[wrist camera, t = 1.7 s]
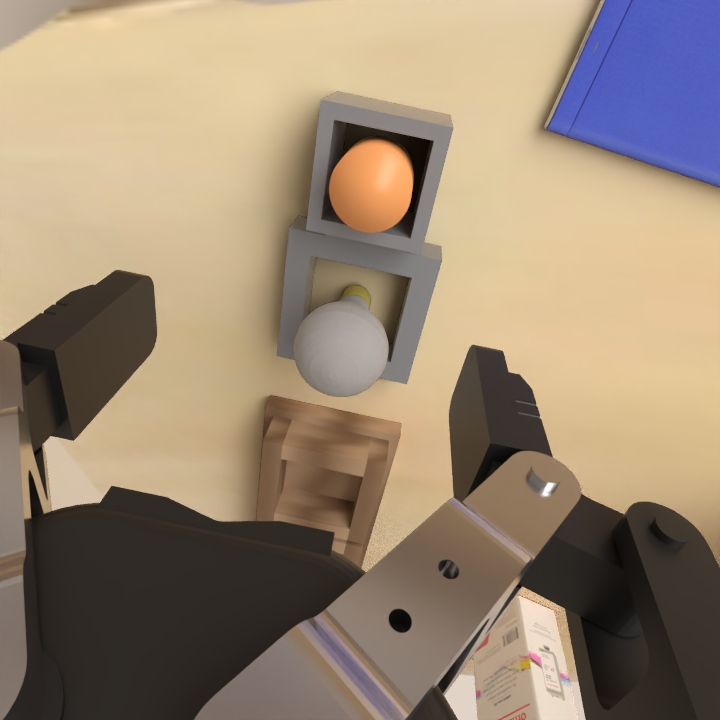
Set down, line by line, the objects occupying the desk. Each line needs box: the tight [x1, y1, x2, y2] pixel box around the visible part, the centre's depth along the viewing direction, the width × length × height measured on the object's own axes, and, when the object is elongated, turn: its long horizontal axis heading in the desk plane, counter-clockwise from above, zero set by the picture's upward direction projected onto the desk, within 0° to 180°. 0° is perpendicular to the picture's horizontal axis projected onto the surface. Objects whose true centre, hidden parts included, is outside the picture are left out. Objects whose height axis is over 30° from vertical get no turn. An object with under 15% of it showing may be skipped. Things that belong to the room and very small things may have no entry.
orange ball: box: [329, 136, 414, 233], centre depth 25 cm, size 4×4×4 cm
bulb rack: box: [256, 395, 401, 568], centre depth 44 cm, size 11×21×4 cm, turn 170°
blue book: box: [544, 0, 720, 187], centre depth 25 cm, size 2×8×12 cm
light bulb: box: [294, 285, 389, 397], centre depth 30 cm, size 6×5×10 cm
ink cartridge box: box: [473, 595, 579, 720], centre depth 47 cm, size 9×5×15 cm, turn 152°
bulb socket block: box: [277, 91, 453, 384], centre depth 30 cm, size 10×17×5 cm, turn 170°
